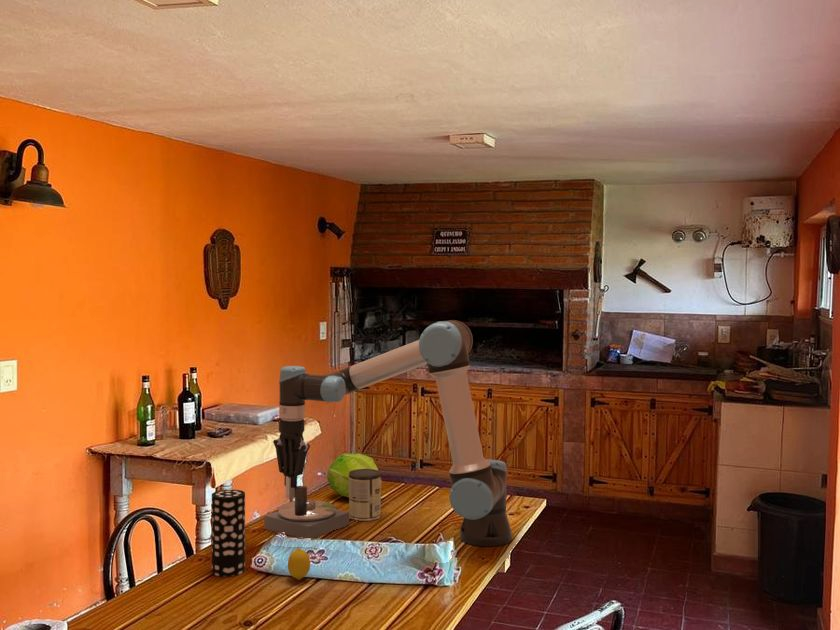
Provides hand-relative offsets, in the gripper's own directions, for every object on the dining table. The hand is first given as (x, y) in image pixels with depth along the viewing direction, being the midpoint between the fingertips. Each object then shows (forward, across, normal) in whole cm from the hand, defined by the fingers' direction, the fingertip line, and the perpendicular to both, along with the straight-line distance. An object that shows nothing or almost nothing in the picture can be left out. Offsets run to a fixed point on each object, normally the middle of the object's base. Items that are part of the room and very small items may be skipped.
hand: (290, 497), depth 238 cm
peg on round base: (+6, +1, +6) cm, 9 cm away
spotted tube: (+10, +10, -32) cm, 36 cm away
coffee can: (+10, +8, +26) cm, 29 cm away
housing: (+10, +1, +6) cm, 12 cm away
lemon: (+10, +29, -26) cm, 40 cm away
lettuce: (+11, -8, +40) cm, 43 cm away
